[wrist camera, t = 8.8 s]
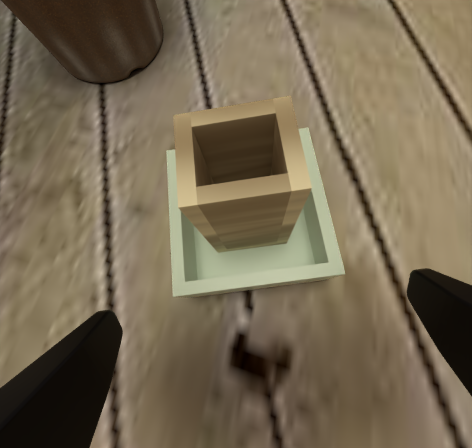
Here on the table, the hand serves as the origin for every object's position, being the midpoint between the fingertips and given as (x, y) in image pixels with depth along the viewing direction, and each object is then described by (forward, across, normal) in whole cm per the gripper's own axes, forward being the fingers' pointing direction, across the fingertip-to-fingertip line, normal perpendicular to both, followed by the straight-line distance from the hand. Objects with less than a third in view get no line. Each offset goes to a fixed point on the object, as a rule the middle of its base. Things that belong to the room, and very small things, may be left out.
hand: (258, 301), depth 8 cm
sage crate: (+13, 0, +4) cm, 14 cm away
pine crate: (+12, 0, +3) cm, 13 cm away
